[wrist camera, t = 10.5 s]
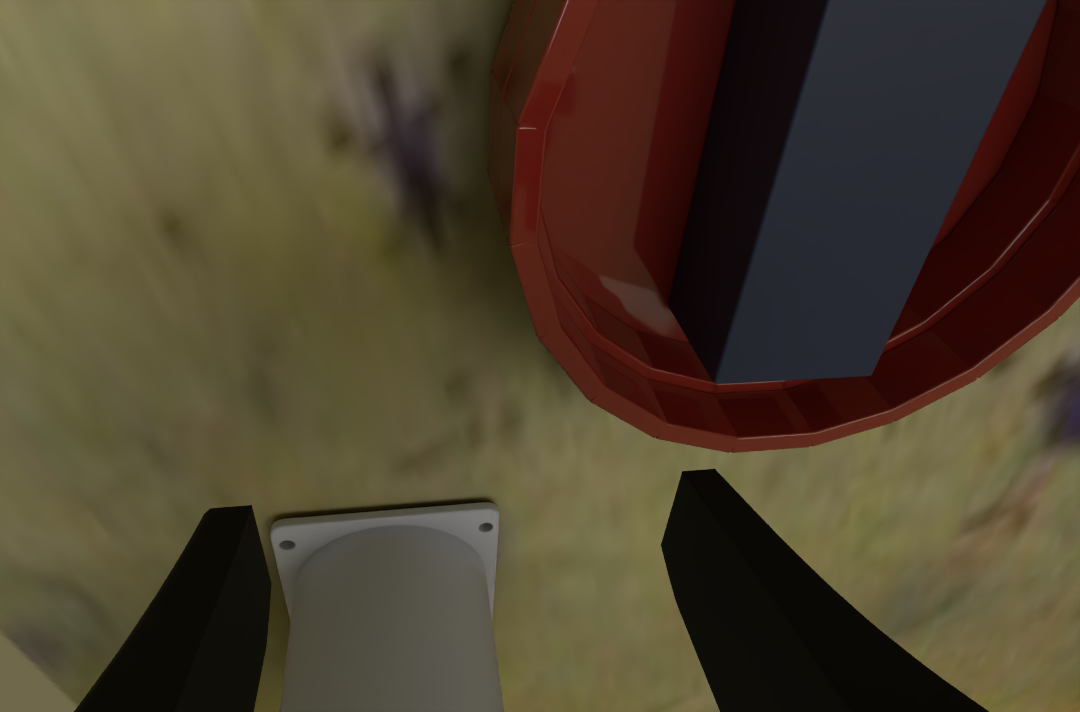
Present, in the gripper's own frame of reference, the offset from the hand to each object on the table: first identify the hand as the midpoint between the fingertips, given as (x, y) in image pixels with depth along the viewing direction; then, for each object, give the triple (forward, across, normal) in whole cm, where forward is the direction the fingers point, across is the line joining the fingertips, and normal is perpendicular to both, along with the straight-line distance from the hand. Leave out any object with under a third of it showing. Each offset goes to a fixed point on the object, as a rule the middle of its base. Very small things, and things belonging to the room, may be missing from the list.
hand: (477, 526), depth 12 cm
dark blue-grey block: (+9, -9, -4) cm, 13 cm away
